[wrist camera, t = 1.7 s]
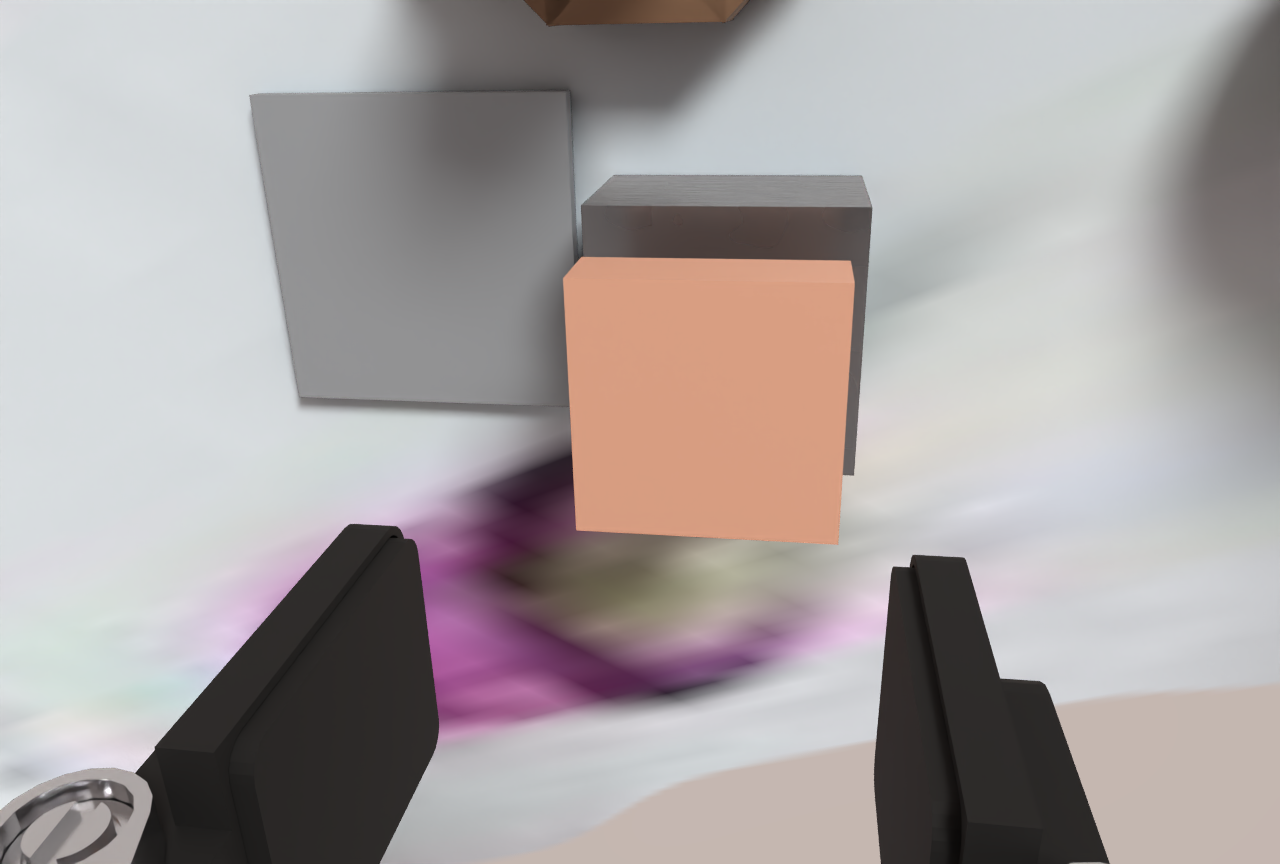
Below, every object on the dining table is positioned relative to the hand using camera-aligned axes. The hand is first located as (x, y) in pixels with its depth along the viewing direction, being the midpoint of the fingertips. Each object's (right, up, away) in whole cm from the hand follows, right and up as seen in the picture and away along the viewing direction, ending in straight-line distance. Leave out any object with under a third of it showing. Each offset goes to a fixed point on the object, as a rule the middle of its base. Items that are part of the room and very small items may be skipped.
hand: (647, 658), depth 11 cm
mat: (-6, +7, +15) cm, 17 cm away
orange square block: (+2, +5, +11) cm, 12 cm away
